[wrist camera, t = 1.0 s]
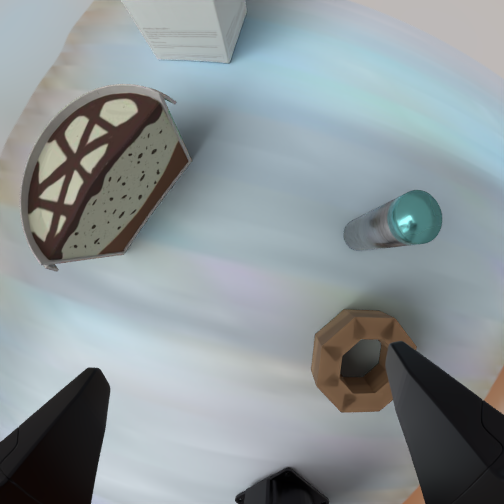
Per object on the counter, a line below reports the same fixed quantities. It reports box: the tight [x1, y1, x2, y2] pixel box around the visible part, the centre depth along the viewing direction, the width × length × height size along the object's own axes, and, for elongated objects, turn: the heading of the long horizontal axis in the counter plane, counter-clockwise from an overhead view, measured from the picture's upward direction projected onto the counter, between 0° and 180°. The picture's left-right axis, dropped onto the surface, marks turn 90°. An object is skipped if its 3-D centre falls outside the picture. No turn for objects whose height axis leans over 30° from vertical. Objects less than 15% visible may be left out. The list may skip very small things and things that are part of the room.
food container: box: [20, 84, 192, 271], centre depth 20 cm, size 12×6×10 cm, turn 143°
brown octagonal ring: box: [311, 309, 417, 412], centre depth 22 cm, size 7×7×4 cm
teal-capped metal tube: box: [344, 190, 442, 251], centre depth 18 cm, size 2×2×11 cm
